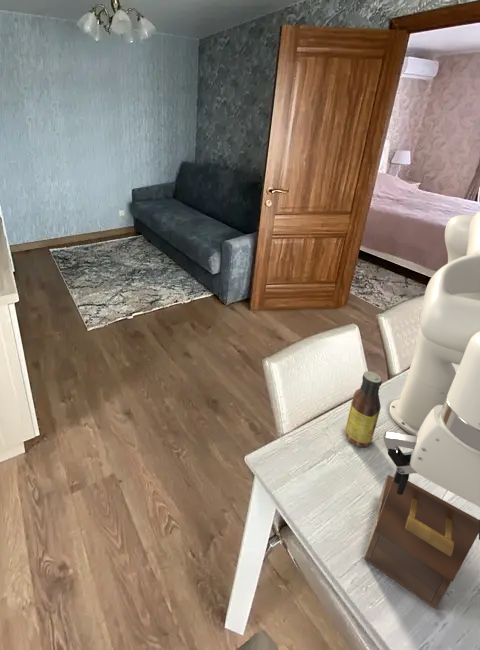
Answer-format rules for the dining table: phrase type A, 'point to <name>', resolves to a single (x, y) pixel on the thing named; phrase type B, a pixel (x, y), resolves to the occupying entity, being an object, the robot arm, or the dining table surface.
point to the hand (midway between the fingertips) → (438, 508)
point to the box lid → (427, 528)
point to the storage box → (404, 563)
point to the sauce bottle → (364, 411)
